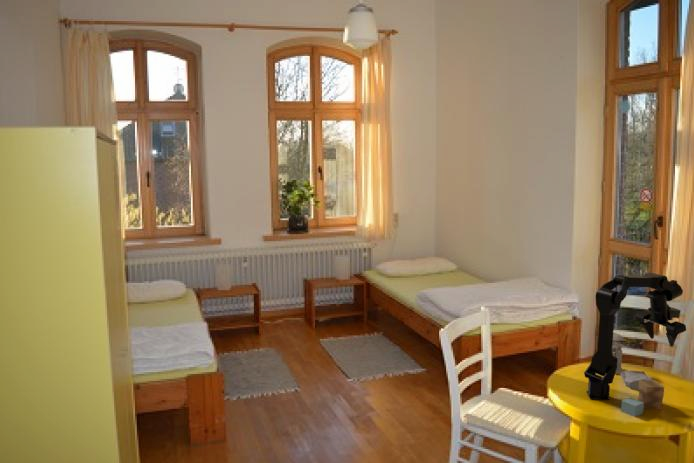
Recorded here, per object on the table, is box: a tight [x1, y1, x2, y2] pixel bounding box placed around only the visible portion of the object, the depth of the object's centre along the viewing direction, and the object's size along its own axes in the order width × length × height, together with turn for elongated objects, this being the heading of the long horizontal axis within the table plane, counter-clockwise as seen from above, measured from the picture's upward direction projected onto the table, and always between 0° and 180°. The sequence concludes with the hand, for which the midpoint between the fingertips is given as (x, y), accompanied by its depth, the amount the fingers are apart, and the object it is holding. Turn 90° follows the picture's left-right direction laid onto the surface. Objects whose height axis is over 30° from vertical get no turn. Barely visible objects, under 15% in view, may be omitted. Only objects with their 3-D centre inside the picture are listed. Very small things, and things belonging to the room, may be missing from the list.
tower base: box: [637, 391, 664, 410], centre depth 221 cm, size 6×6×4 cm
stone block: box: [620, 370, 654, 391], centre depth 239 cm, size 12×5×10 cm
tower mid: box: [637, 379, 665, 399], centre depth 220 cm, size 6×6×4 cm
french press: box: [612, 311, 625, 375], centre depth 251 cm, size 10×12×25 cm
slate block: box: [620, 397, 645, 417], centre depth 215 cm, size 5×5×4 cm
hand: (662, 342), depth 240 cm, fingers open, 9 cm apart
